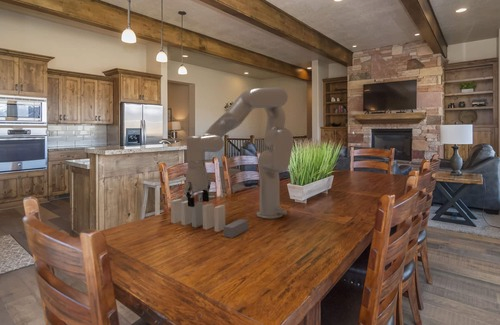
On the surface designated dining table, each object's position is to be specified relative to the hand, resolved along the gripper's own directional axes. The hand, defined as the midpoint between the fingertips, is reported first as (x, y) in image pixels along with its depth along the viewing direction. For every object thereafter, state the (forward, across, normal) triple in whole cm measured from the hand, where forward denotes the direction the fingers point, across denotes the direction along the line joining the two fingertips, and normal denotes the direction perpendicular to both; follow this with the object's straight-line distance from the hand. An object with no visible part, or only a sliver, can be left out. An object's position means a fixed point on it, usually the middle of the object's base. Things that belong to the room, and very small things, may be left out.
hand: (198, 203), depth 134 cm
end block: (+10, +1, +19) cm, 22 cm away
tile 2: (+9, +1, -7) cm, 12 cm away
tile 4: (+10, +1, +5) cm, 11 cm away
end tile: (+9, +1, -13) cm, 16 cm away
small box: (+10, -11, -15) cm, 21 cm away
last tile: (+10, +1, +11) cm, 15 cm away
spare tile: (+10, +1, 0) cm, 10 cm away
